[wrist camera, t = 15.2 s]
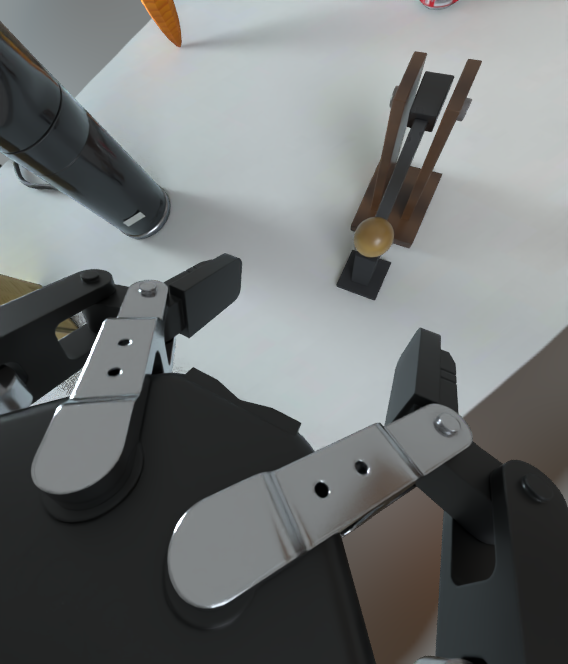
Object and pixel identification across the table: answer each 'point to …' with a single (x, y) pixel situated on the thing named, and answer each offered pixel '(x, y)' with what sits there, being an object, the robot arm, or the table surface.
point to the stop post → (363, 275)
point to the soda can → (437, 3)
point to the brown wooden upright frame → (417, 181)
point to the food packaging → (10, 289)
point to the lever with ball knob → (403, 163)
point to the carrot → (165, 18)
